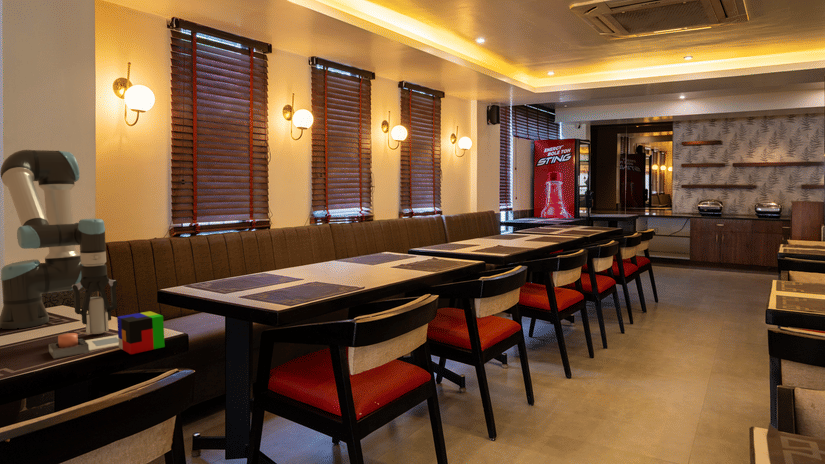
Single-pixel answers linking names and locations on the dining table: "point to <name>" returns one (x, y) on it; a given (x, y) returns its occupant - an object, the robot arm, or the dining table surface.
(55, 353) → the button collar
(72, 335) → the button
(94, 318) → the beverage can
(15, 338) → the dining table surface
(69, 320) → the dining table surface
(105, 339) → the white flat block
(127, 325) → the puzzle toy
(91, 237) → the robot arm
